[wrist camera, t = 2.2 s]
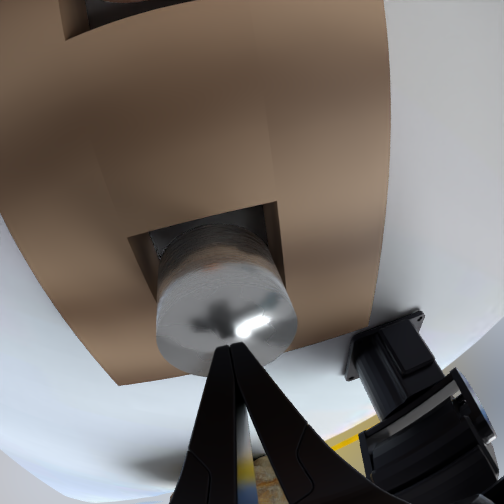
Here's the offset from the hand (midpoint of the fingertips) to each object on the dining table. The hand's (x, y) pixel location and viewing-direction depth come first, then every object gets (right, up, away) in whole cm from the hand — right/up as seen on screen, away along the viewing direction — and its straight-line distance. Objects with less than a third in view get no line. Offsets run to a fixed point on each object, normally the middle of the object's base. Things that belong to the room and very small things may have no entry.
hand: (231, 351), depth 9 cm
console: (-2, +8, +2) cm, 9 cm away
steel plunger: (-1, +2, +3) cm, 4 cm away
